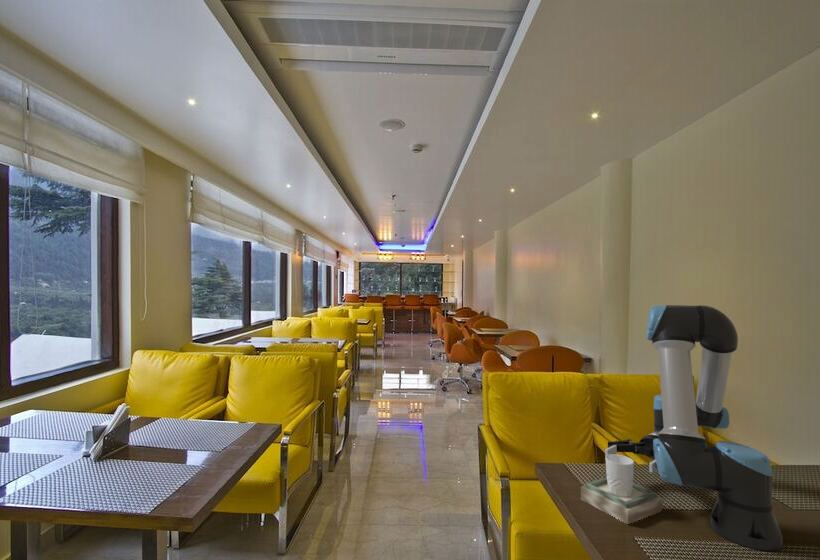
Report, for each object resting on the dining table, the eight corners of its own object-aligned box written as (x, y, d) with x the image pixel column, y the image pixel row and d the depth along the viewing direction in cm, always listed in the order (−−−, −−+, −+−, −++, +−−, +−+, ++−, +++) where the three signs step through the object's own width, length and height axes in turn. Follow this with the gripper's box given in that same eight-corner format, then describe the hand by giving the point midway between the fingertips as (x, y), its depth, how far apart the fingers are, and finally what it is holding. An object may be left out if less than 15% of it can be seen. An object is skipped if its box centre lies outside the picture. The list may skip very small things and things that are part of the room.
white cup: (627, 486, 128) (627, 454, 128) (639, 498, 120) (638, 465, 120) (601, 485, 128) (601, 453, 129) (611, 497, 120) (611, 463, 121)
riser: (662, 511, 120) (661, 493, 120) (628, 525, 113) (627, 506, 113) (613, 488, 134) (613, 472, 135) (580, 499, 127) (580, 482, 127)
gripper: (697, 468, 131) (671, 487, 118) (619, 445, 151) (590, 459, 138) (696, 445, 131) (671, 461, 118) (618, 425, 151) (589, 437, 138)
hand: (627, 460), depth 128 cm, fingers open, 13 cm apart
